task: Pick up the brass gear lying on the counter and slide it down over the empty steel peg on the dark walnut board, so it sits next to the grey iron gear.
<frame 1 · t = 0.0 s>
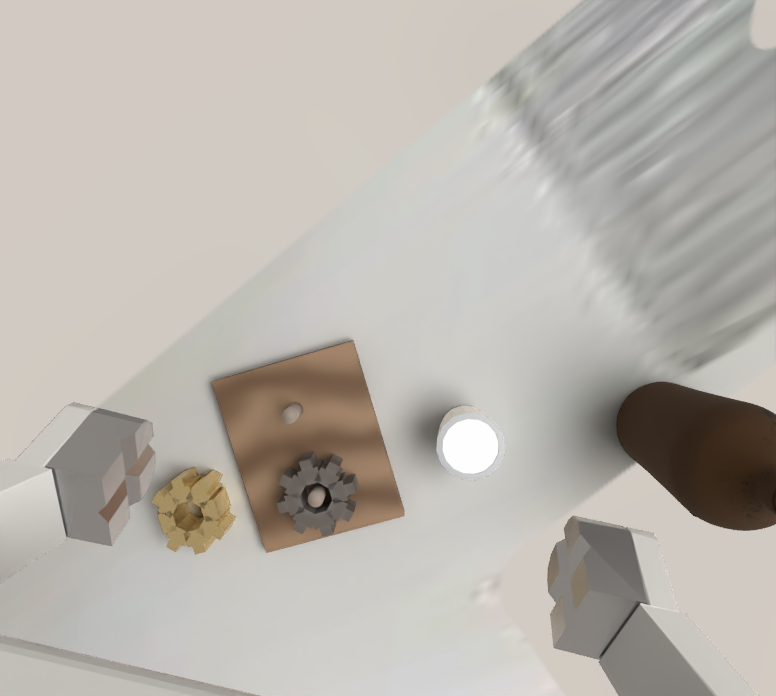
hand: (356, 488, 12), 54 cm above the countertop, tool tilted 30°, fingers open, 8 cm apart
white short cylinder: (464, 430, 67), on the countertop
brass gear: (201, 503, 69), on the countertop
gear board: (310, 445, 67), on the countertop
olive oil: (658, 424, 66), on the countertop
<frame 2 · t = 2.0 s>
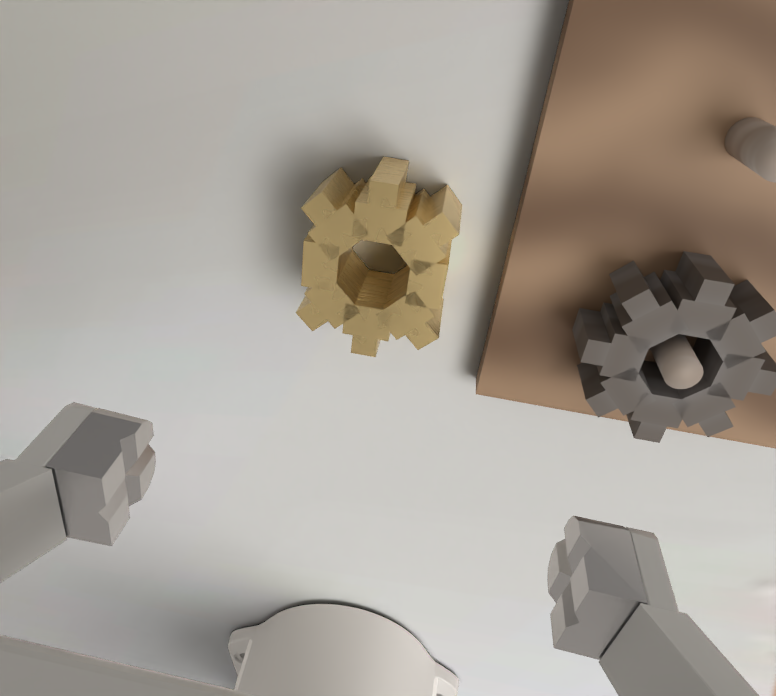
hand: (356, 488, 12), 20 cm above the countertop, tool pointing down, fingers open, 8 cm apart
brass gear: (385, 243, 30), on the countertop
gear board: (691, 233, 28), on the countertop
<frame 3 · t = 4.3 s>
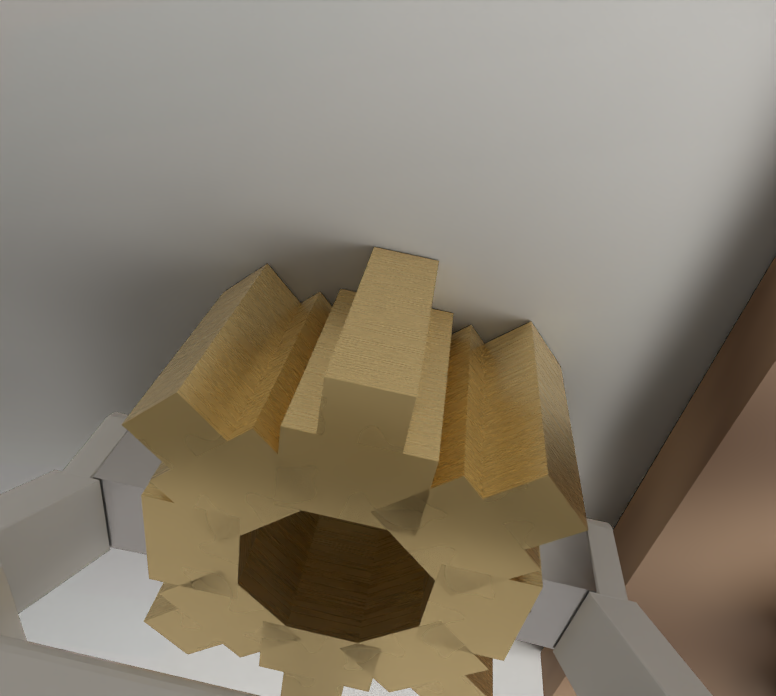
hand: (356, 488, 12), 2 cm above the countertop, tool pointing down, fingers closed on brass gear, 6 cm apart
brass gear: (371, 424, 13), on the countertop, touching gripper
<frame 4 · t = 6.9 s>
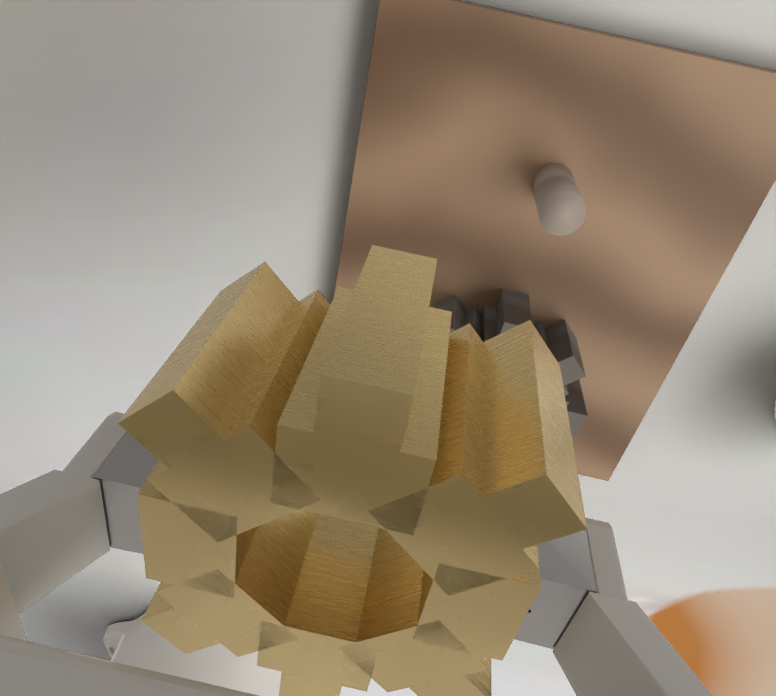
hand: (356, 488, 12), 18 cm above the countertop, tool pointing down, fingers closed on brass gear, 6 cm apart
brass gear: (369, 423, 13), point 16 cm above the countertop, touching gripper
gear board: (516, 269, 28), on the countertop
when the fingers open (4 cm above the countertop, at t = 9.6 s): brass gear stays where it is, resting on gear board.
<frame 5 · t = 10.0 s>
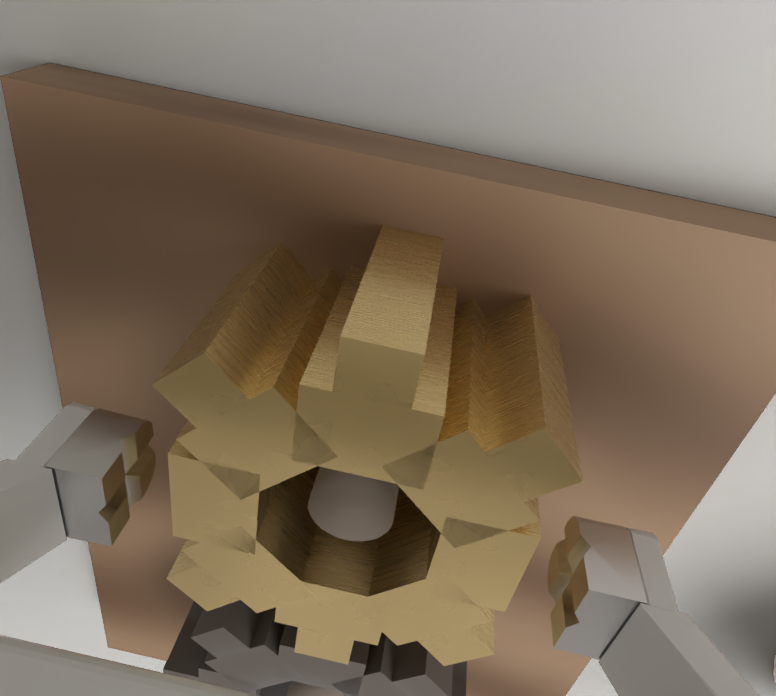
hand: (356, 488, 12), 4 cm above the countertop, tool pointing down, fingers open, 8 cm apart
brass gear: (379, 397, 14), point 1 cm above the countertop, touching gear board
gear board: (362, 482, 18), on the countertop
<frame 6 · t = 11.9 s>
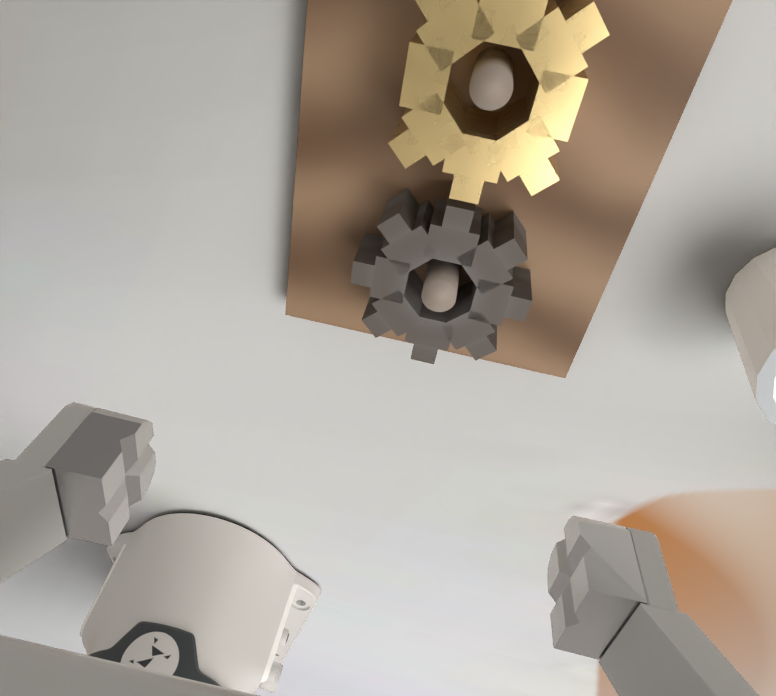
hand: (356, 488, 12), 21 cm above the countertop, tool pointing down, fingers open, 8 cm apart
brass gear: (492, 70, 25), point 1 cm above the countertop, touching gear board
gear board: (468, 163, 29), on the countertop
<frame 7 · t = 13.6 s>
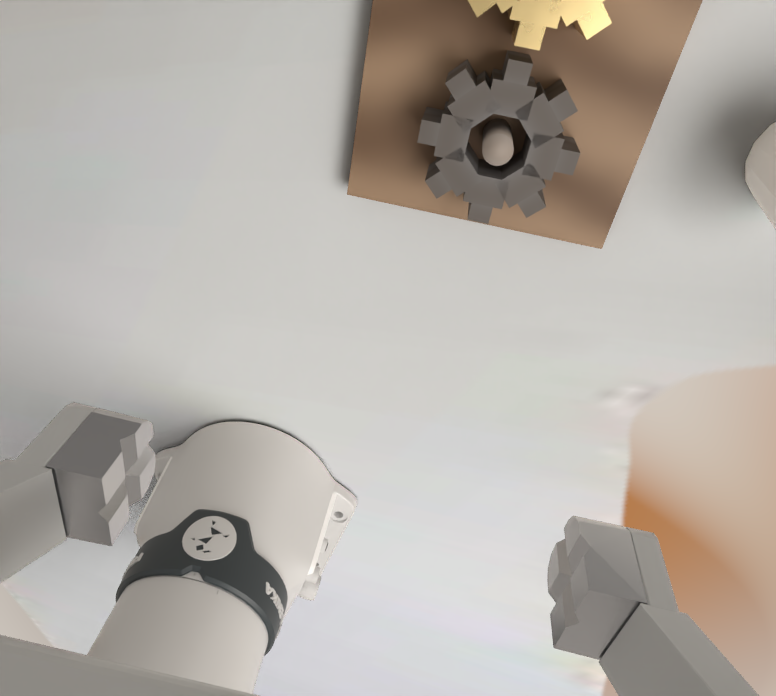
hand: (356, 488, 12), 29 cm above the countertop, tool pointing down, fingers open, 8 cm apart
gear board: (519, 40, 33), on the countertop
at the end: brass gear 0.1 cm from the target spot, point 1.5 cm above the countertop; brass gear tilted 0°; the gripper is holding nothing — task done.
